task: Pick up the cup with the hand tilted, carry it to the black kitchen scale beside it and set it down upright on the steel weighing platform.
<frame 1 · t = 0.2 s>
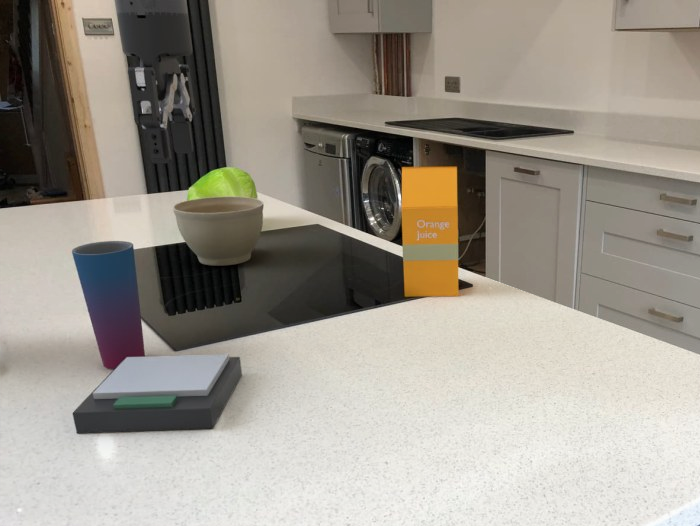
hand: (173, 157, 88), 25 cm above the countertop, tool pointing down, fingers open, 8 cm apart
cup: (124, 363, 94), on the countertop
orange juice: (432, 290, 122), on the countertop
scale: (166, 401, 83), on the countertop
planter bowl: (226, 261, 140), on the countertop
lettuce: (228, 229, 166), on the countertop
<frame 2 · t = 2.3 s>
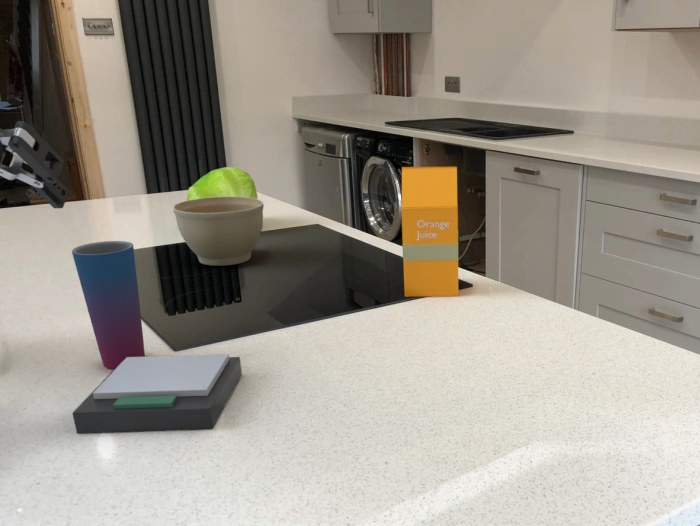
hand: (23, 202, 76), 22 cm above the countertop, tool tilted 45°, fingers open, 8 cm apart
nothing on the countertop moved.
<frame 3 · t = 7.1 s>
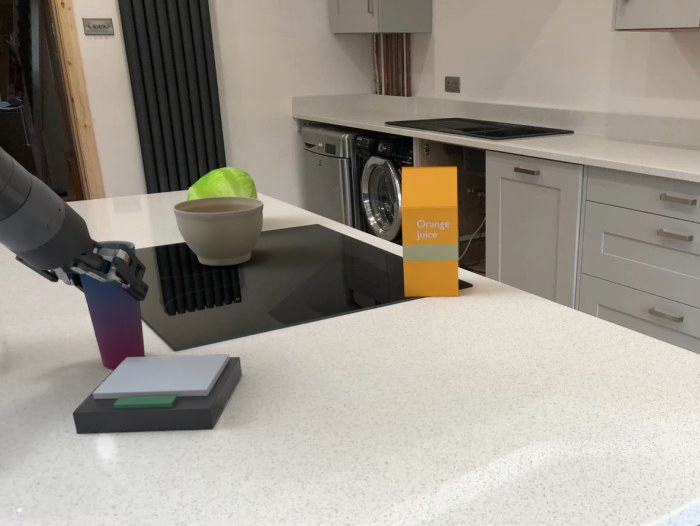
hand: (119, 292, 92), 9 cm above the countertop, tool tilted 45°, fingers closed on cup, 6 cm apart
cup: (124, 362, 94), on the countertop, touching gripper
everything else where it was.
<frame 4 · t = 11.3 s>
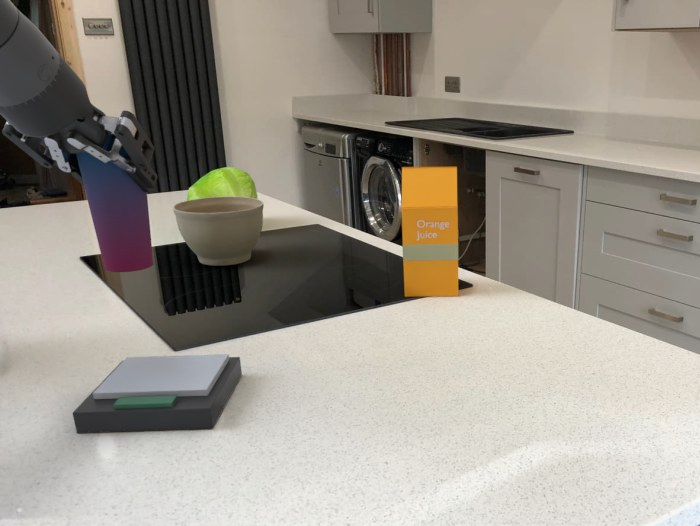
hand: (124, 185, 80), 23 cm above the countertop, tool tilted 45°, fingers closed on cup, 6 cm apart
cup: (129, 268, 82), point 14 cm above the countertop, touching gripper
everything else where it was.
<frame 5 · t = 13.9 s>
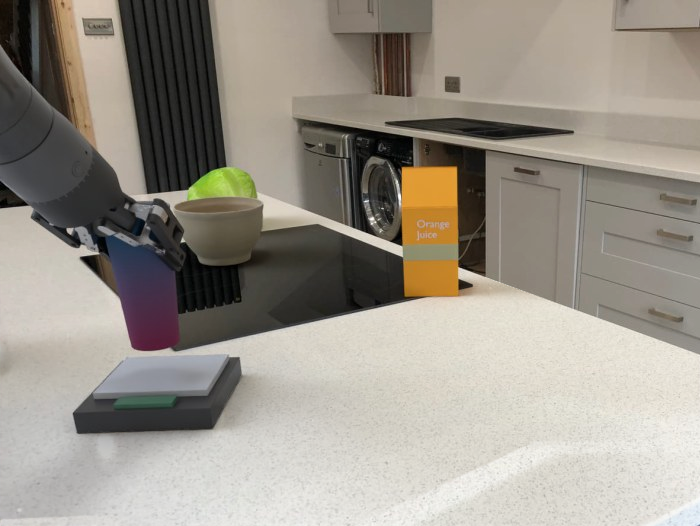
hand: (151, 262, 79), 16 cm above the countertop, tool tilted 45°, fingers closed on cup, 6 cm apart
cup: (156, 344, 81), point 7 cm above the countertop, touching gripper
everything else where it was.
when the fingers open (12 cm above the countertop, at t = 15.6 s): cup stays where it is, resting on scale.
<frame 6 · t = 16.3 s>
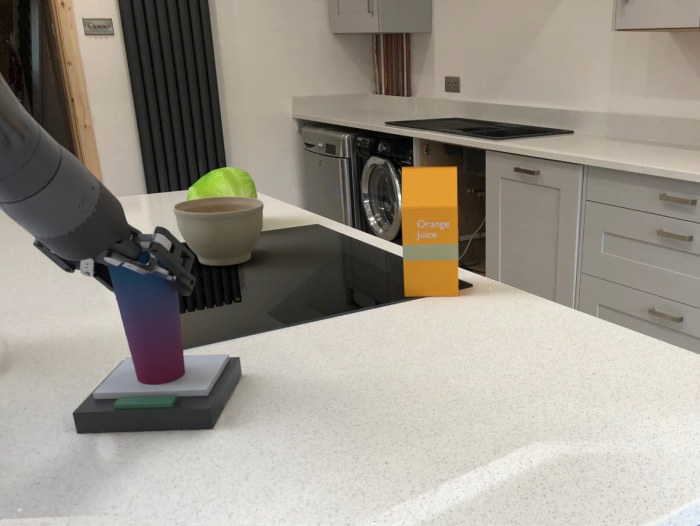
hand: (153, 286, 79), 13 cm above the countertop, tool tilted 45°, fingers open, 8 cm apart
cup: (161, 377, 82), point 3 cm above the countertop, touching scale
everything else where it was.
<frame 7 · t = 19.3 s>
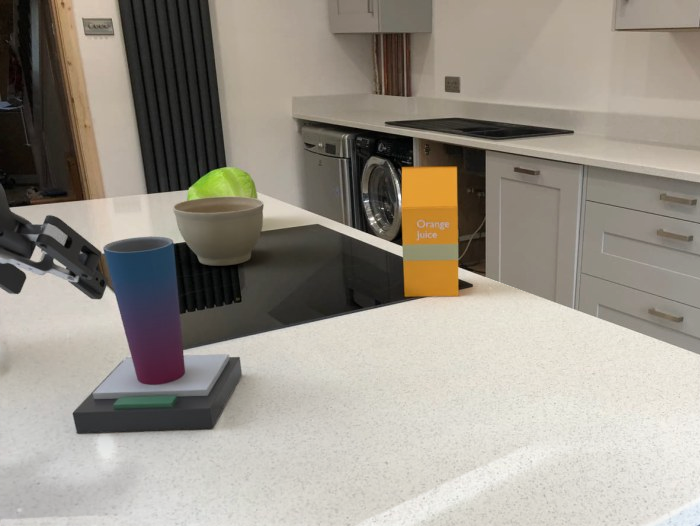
hand: (60, 287, 67), 17 cm above the countertop, tool tilted 45°, fingers open, 8 cm apart
nothing on the countertop moved.
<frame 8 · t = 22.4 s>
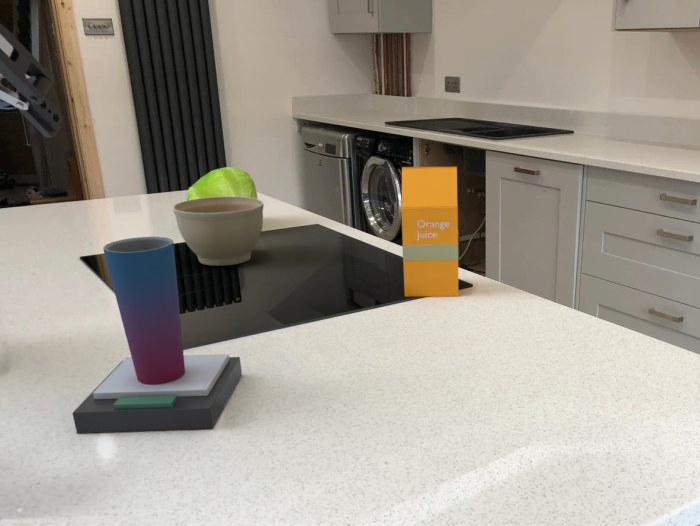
hand: (13, 129, 63), 31 cm above the countertop, tool tilted 45°, fingers open, 8 cm apart
nothing on the countertop moved.
at the end: cup inside the target area on the scale (0.4 cm from its centre), point 3.0 cm above the scale's base; cup tilted 0°; the gripper is holding nothing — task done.
